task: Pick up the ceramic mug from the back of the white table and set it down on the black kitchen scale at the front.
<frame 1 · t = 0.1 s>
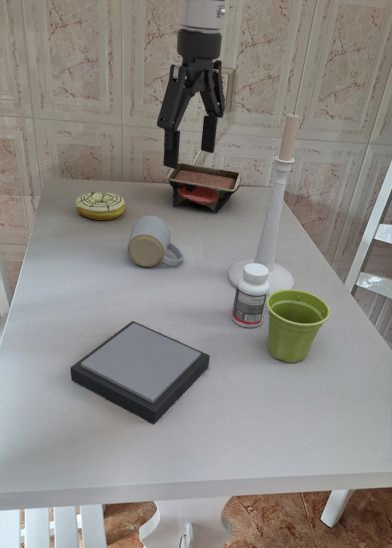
hand: (189, 159, 95), 17 cm above the table, tool pointing down, fingers open, 13 cm apart
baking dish: (202, 203, 122), on the table
scale: (142, 373, 70), on the table
decorated donut: (101, 214, 112), on the table
plant pot: (286, 352, 77), on the table
pill bottle: (246, 320, 83), on the table
ceramic mug: (155, 260, 97), on the table
candlestick: (260, 280, 95), on the table
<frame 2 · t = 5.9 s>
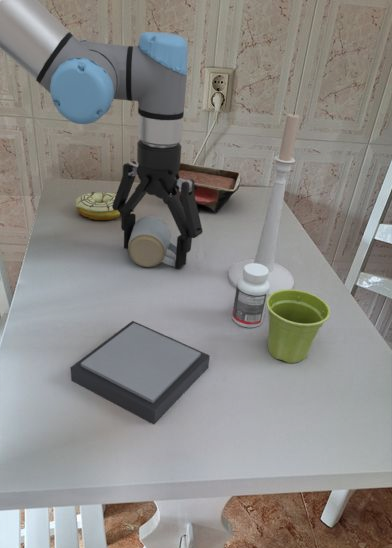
hand: (154, 256, 96), 1 cm above the table, tool pointing down, fingers closed on ceramic mug, 11 cm apart
ceramic mug: (155, 260, 97), on the table, touching gripper
everything else where it was.
when the fingers open (4 cm above the table, at t = 13.7 s): ceramic mug stays where it is, resting on scale.
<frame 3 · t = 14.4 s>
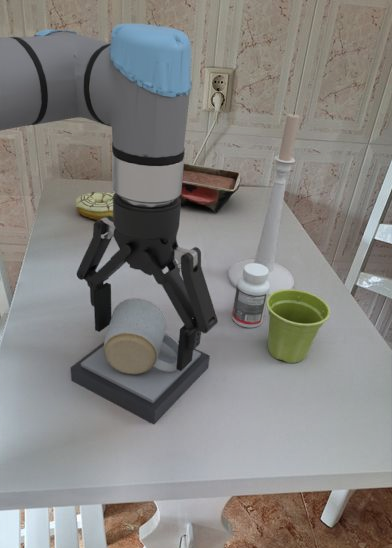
hand: (142, 345, 67), 5 cm above the table, tool pointing down, fingers open, 13 cm apart
ceramic mug: (144, 359, 68), point 3 cm above the table, touching scale
everything else where it was.
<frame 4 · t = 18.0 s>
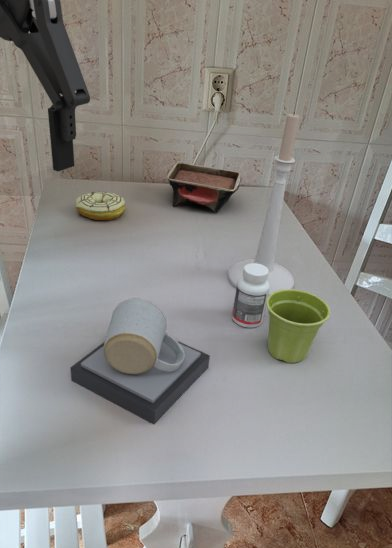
hand: (21, 154, 59), 27 cm above the table, tool pointing down, fingers open, 13 cm apart
nothing on the table moved.
at the end: ceramic mug inside the target area on the scale (0.3 cm from its centre), point 2.8 cm above the scale's base; ceramic mug tilted 0°; the gripper is holding nothing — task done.
